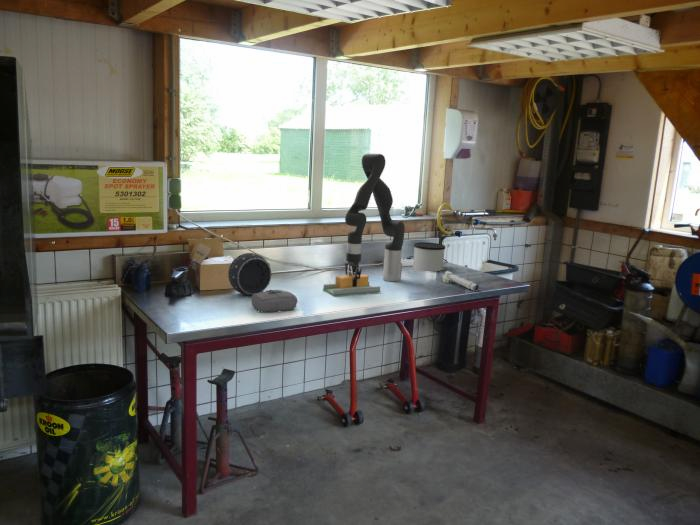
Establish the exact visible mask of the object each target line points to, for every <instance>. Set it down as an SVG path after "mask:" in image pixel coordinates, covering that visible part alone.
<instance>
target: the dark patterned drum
mask: <svg viewBox="0 0 700 525" xmlns="http://www.w3.org/2000/svg"><path fill="white" fill-rule="evenodd" d="M227 271H228V273H227V275H228V276H227V278H228V281H229V283H230V285H231V287H232V288H233V289H234V290H235V291H236V292H238V293H239V294H241V295H244V296H251V297H252V295H253V294H257V293H261V292H265V291H266V289H267V287H268V286H269V285H270V282H271V281H272V280H271V279H272V275H273V274H272V269H271V264H270V263H269V262H268V261H267V259H265V258H264V256H262V255H261V254H257V253H253V252H245V253H241V254H240V255H237V257H235V258H234V259H233V260H232V261H231V263H230V265H229V268H228V270H227Z"/></svg>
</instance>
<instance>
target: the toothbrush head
mask: <svg viewBox="0 0 700 525" xmlns="http://www.w3.org/2000/svg"><path fill="white" fill-rule="evenodd" d="M442 281H443V283H445V282H446V283H447V284H452V283H453V282H455V283H457V284H458V285H461V286H463V287H465V288H467V289H471V290H470V291H472V290H473V291H472V292H477V291H476V290H478V291H479V289H480V286H479V284H477V283H475V282H474V281H471V280H468V279H465V278H463V277H461V276H458V275H456V274H453V272H452V271H450V270H449V271H448V270H447V271H445V272H444V275H442Z"/></svg>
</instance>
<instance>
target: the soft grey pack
mask: <svg viewBox="0 0 700 525" xmlns="http://www.w3.org/2000/svg"><path fill="white" fill-rule="evenodd" d="M250 302H251V305H252V308H253V309H254V310H255V311H256V310H257V311H256V312H258V311H259V312H258V313H268V312H271V313H279V312H278V311H282V312H287V310H288V311H291V310H294V309H296V307H297V304H298V297H297V296H296V295H295V294H293V293H292V292H290V291H287V290H281V289H269V290H264V291H263V292H261V293H257V294H253V295H252V296H251V301H250Z"/></svg>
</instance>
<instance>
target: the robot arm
mask: <svg viewBox="0 0 700 525" xmlns="http://www.w3.org/2000/svg"><path fill="white" fill-rule="evenodd" d="M385 167H386V157H385V155H383V153H365V154H363V155H362V156H361V168H362V170H363V172H364V174H365V176H366V181H364V183H363V184H362V185H361V186H360V187H359V189H358V190H357V192H356V195H355V197H354V202H353V203H352V204H351V206H350V207H349V209H348V210H347V212H346V214H345V217H344V222H345V224H346V225H347V226H350V227H356V228H355V229H354V230H349V231H348V233H347V242H346V243H347V244H346V252H345V253H346V254H345V257H346V258H345V260H346V262H345V263H344V269H345V270H344V271H345V276H347V275H352V276H353V284H352V286H353V287H356V286H357V279H360V275H362V270H363V268H362V267H360V264H359V263H361V261H362V249H363V248H362V246H363V245H362V242H363V241H362V240H363V233H364V230H365V226H366V224H367V216H366V214H365V213H364V212H361V211H365V210H367V209H368V205H369V203H370V200H371V197H372V194H373V198H374V201H375V205H376V207H377V211H378V213H379V214H378V215H379V218H380V222H381V228H382V232H383V234H384V235H385V236H387V237H391V238H392V241H391V242H387V243H385V244H384V245H385V246H384V254H383V255H384V256H383V258H384V260H383V272H382V279H383V280H384V281H387V282H399V281H402V271H403V264H402V251H403V250H402V249H403V245H404V240H405V230H406V228H405V223H404V222H403V221H402V220H394V219H392V217H391V214H390V211H391V209H392V206H393V203H394V201H393V195H392V193H391V192H392V191H391V190H390V187H389V186H388V185H387V184H386V183H385V182H384V181H383V180H382V178H381V176H382V174H383V172H384V170H385ZM354 275H355V276H354Z"/></svg>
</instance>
